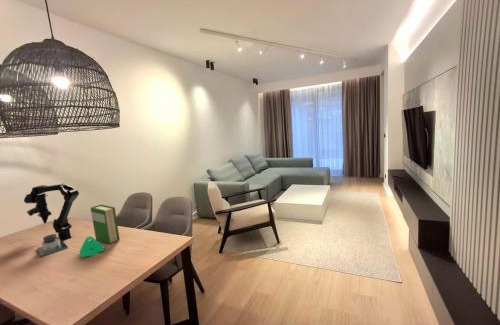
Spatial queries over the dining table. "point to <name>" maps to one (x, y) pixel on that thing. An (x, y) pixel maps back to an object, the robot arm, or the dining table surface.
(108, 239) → the hardback book
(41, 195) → the robot arm
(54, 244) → the square base plate
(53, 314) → the dining table surface
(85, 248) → the camera mount
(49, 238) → the dark grey rounded lump
